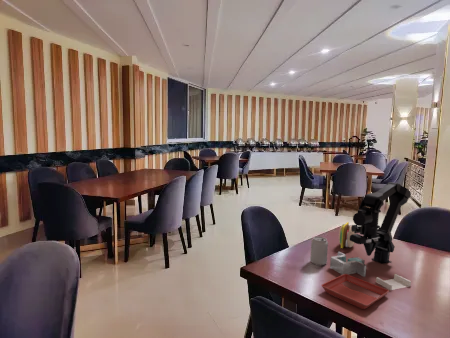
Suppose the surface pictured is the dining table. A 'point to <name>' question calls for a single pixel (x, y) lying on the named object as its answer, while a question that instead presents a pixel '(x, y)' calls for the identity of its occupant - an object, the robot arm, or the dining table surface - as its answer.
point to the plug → (356, 260)
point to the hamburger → (345, 235)
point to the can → (319, 251)
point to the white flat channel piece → (394, 282)
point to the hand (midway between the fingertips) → (368, 255)
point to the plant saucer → (353, 291)
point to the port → (347, 265)
